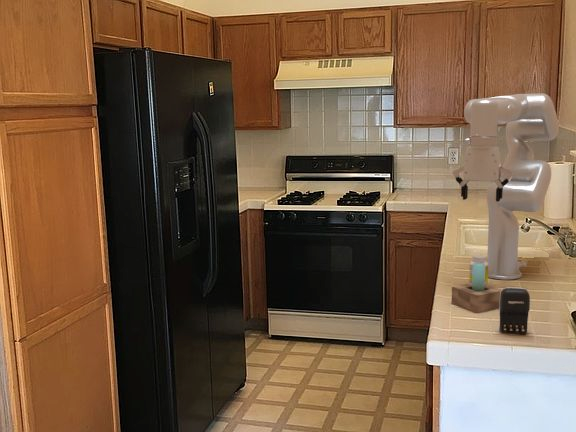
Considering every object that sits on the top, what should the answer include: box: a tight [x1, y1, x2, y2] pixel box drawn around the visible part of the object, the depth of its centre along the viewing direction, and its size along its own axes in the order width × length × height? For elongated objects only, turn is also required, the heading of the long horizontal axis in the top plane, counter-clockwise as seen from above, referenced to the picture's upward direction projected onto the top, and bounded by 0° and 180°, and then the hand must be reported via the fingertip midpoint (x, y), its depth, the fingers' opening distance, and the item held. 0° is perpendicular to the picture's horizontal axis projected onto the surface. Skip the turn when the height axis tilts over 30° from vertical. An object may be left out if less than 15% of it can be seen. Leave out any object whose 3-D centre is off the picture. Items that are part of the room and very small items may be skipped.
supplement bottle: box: [468, 254, 489, 285], centre depth 196 cm, size 6×6×10 cm
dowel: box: [472, 263, 485, 292], centre depth 179 cm, size 3×3×12 cm
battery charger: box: [498, 286, 531, 335], centre depth 157 cm, size 7×4×11 cm, turn 78°
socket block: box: [451, 283, 503, 314], centre depth 179 cm, size 10×10×5 cm
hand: (481, 200), depth 188 cm, fingers open, 9 cm apart
